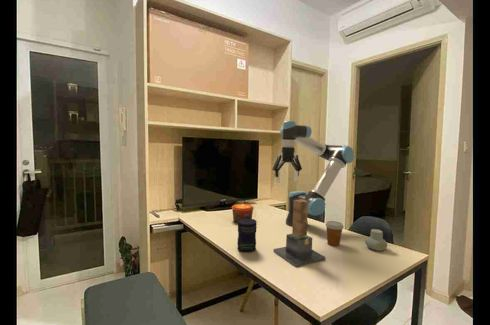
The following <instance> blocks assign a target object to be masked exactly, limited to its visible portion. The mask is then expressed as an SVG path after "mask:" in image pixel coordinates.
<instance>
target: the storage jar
mask: <svg viewBox="0 0 490 325" xmlns="http://www.w3.org/2000/svg"><path fill="white" fill-rule="evenodd" d="M237 234H238V235H237V243H236V244H237V250H238V252H240V253H245V254H247V253H248V254H249V253H253V252H255V251H256V250H257V248H256V246H257V236H256V235H257V220H256V219H253V218H252V219H248V218H245V219H240V220H238V223H237Z"/></svg>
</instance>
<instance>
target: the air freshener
mask: <svg viewBox="0 0 490 325" xmlns="http://www.w3.org/2000/svg"><path fill="white" fill-rule="evenodd" d="M383 237H384V232H383V231H382V230H381V229H376V228H372V229H371V230H370V236H368V237H367V238H365V240H364V243H365V245H366V247H367V248H369V249H371V250H373V251H377V252H380V251H384V250H386V249H387V247H388V242H387V241H386V240H385V239H384V238H383Z"/></svg>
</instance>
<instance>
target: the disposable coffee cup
mask: <svg viewBox="0 0 490 325" xmlns="http://www.w3.org/2000/svg"><path fill="white" fill-rule="evenodd" d="M325 227H326V240H327V245H329V246H332V247H339V246H340V245H341V238H342V233H343V229H344V225H343V223H342V222H339V221H336V220H335V221H334V220H329V221H326V223H325Z"/></svg>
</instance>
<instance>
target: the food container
mask: <svg viewBox="0 0 490 325" xmlns="http://www.w3.org/2000/svg"><path fill="white" fill-rule="evenodd" d="M231 209H232V210H231V211H232V219H233V222H234V223H236V224H238V220H240V219H245V218H248V219H253V214H254V209H255V208H254V206H253V205H251V204H248V203H247V204H246V203H239V204H238V203H237V204H233V205H232V206H231Z"/></svg>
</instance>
